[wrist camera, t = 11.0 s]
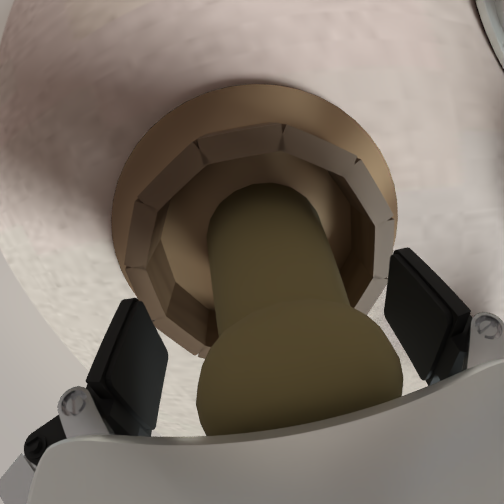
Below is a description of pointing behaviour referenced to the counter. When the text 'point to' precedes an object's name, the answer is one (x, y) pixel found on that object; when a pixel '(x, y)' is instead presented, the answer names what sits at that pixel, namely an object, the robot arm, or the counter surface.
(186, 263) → the collar stand
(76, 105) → the counter surface
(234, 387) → the olive knobbed pestle
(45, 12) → the counter surface
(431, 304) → the robot arm
